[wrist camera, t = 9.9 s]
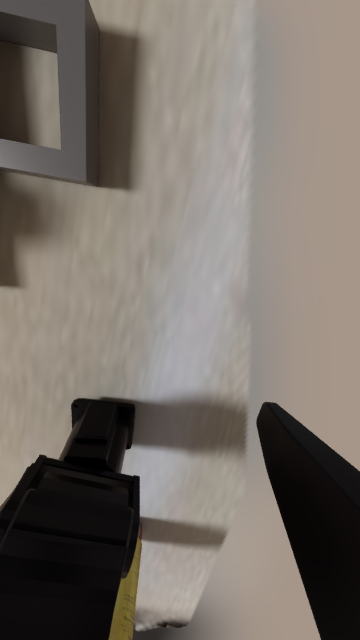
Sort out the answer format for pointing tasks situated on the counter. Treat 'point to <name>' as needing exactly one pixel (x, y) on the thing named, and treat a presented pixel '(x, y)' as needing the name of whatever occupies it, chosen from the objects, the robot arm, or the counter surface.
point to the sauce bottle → (127, 599)
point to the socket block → (74, 86)
